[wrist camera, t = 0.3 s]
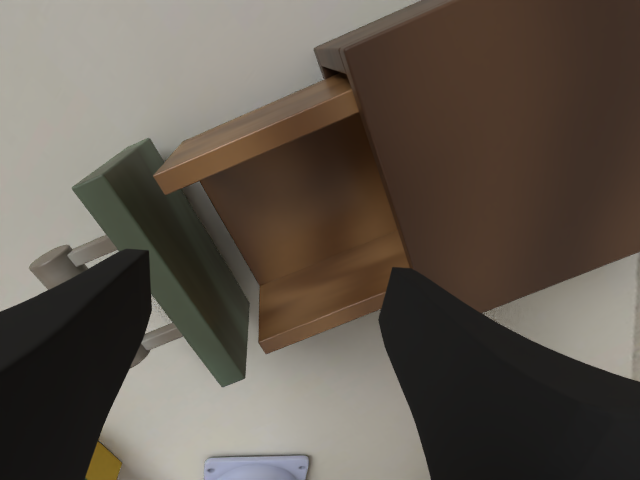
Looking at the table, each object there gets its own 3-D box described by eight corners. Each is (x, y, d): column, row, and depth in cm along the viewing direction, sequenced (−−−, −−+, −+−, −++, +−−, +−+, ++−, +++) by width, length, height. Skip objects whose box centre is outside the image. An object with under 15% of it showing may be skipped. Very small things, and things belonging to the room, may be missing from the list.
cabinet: (384, 249, 23) (433, 332, 16) (312, 48, 18) (342, 48, 11) (602, 160, 22) (749, 210, 15) (597, -78, 17) (818, -161, 10)
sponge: (68, 483, 29) (45, 536, 25) (4, 433, 26) (-32, 486, 22) (122, 462, 28) (105, 513, 25) (64, 409, 25) (36, 459, 22)
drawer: (165, 337, 23) (136, 421, 18) (44, 183, 18) (-44, 237, 13) (431, 229, 22) (483, 285, 17) (378, 36, 17) (427, 31, 12)
